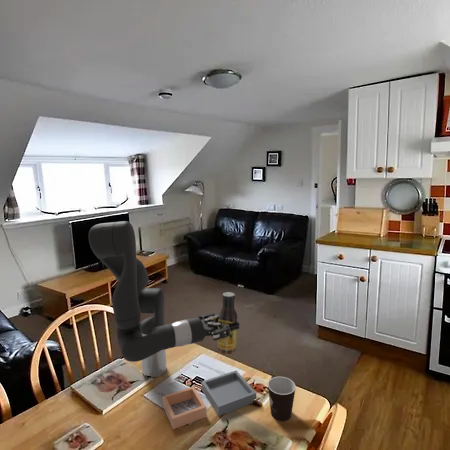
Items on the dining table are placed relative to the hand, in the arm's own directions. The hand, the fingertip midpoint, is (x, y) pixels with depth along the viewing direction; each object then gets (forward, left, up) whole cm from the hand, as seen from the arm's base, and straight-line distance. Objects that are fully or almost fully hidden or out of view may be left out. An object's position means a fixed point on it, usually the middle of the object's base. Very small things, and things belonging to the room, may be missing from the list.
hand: (233, 321), depth 108 cm
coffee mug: (+14, +10, -27) cm, 32 cm away
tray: (0, -2, -27) cm, 27 cm away
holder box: (0, -18, -27) cm, 33 cm away
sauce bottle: (0, -2, -10) cm, 10 cm away
